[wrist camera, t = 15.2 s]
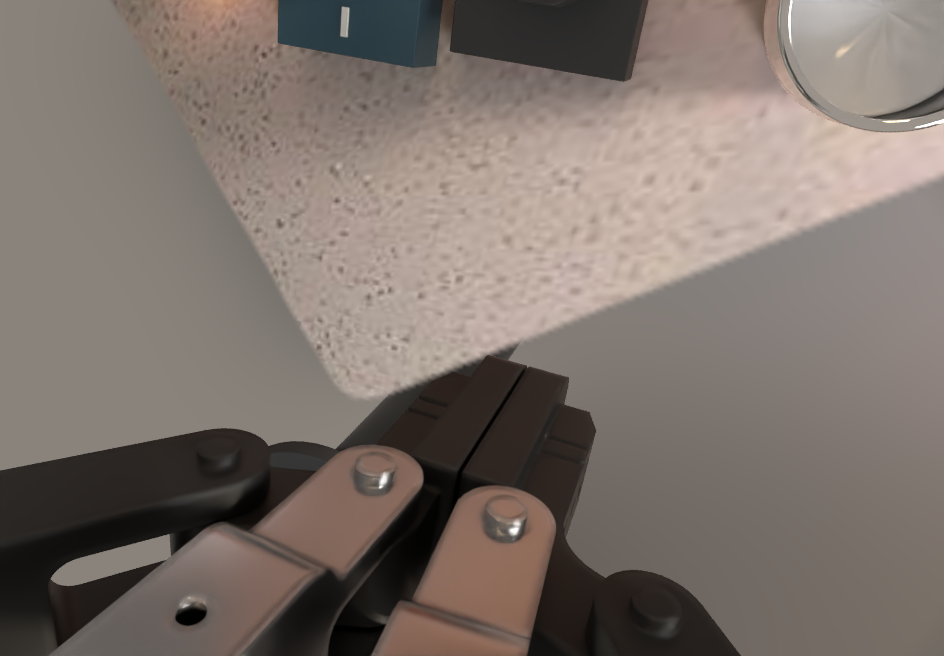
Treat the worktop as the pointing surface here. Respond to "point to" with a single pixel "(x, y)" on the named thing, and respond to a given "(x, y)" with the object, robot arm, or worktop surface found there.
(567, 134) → the worktop surface
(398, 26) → the knob panel
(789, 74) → the silver metal cup
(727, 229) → the worktop surface
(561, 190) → the worktop surface
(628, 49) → the orange push button panel
